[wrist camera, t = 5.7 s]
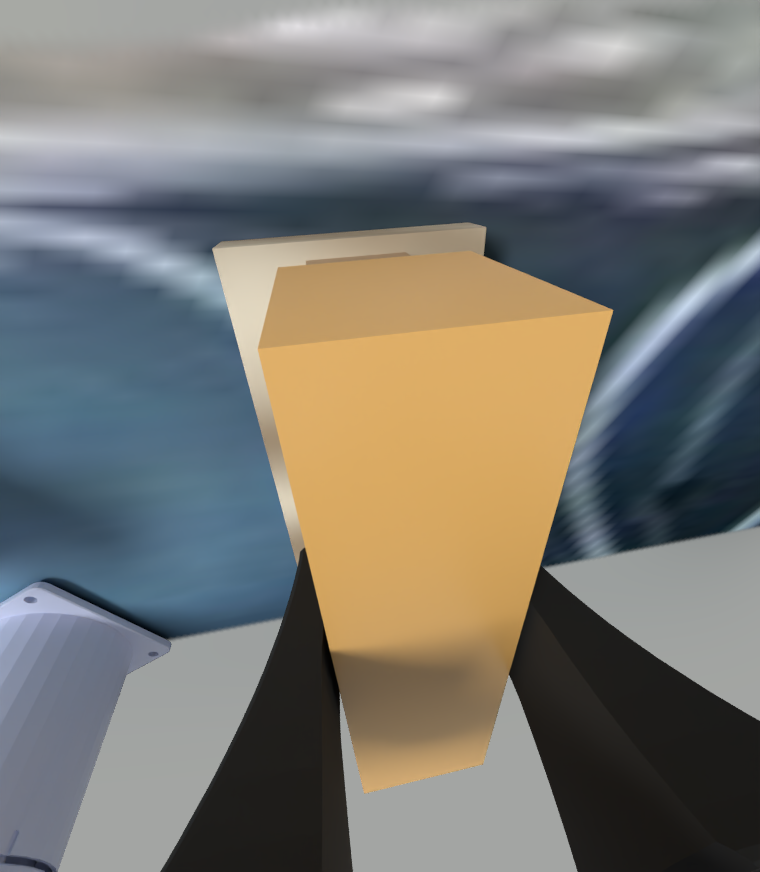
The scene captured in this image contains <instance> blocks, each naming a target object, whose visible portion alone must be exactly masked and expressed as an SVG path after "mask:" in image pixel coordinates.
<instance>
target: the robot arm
mask: <svg viewBox="0 0 760 872" xmlns="http://www.w3.org/2000/svg"><path fill="white" fill-rule="evenodd" d="M170 647H171V642H170V641H168V640H166V639H164V638H162V637H160V636H158V635H156V634H154V633H152V632H149V631H147V630H145V629H143V628H141V627H139V626H137V625H135V624H133V623H131V622H129V621H127V620H124V619H122V618H120V617H118V616H116V615H114V614H112V613H110V612H108V611H106V610H104V609H101V608H99V607H97V606H95V605H93V604H91V603H89V602H87V601H85V600H83V599H81V598H78V597H76V596H74V595H72V594H70V593H68V592H66V591H64V590H62V589H60V588H58V587H56V586H53V585H51V584H49V583H46V582H36V583H33V584H31V585H29V586H28V587H26V588H24V589H23V590H21V591H20V592H18V593H16V594H15V595H13V596H11V597H10V598H8V599H6V600H5V601H3V602H2V603H0V872H58V869H59V866H60V863H61V860H62V857H63V854H64V852H65V849H66V846H67V843H68V840H69V837H70V834H71V832H72V829H73V826H74V823H75V820H76V817H77V814H78V811H79V809H80V806H81V803H82V800H83V797H84V794H85V791H86V788H87V786H88V783H89V780H90V777H91V774H92V772H93V769H94V766H95V763H96V760H97V757H98V755H99V752H100V749H101V746H102V743H103V740H104V737H105V735H106V732H107V729H108V726H109V723H110V720H111V717H112V714H113V712H114V709H115V706H116V703H117V700H118V697H119V695H120V692H121V689H122V686H123V683H124V680H125V677H126V675H127V674H129V673H131V672H133V671H134V670H136V669H138V668H140V667H142V666H144V665H146V664H148V663H149V662H151V661H153V660H155V659H157V658H159V657H161V656H163V655H164V654H166V653H168V652H169V650H170ZM509 675H510V678H511V680H512V682H513V684H514V687H515V689H516V692H517V694H518V696H519V699H520V701H521V704H522V707H523V710H524V712H525V715H526V718H527V721H528V723H529V726H530V729H531V731H532V734H533V737H534V740H535V743H536V745H537V749H538V751H539V754H540V757H541V760H542V763H543V766H544V769H545V772H546V775H547V778H548V780H549V783H550V786H551V789H552V792H553V795H554V798H555V801H556V805H557V807H558V811H559V814H560V817H561V819H562V823H563V826H564V829H565V832H566V835H567V838H568V842H569V845H570V848H571V852H572V855H573V858H574V861H575V864H576V868H577V871H578V872H760V721H759V720H757V719H755V718H753V717H752V716H750V715H748V714H746V713H745V712H743V711H741V710H740V709H738V708H736V707H735V706H733V705H731V704H730V703H728V702H726V701H725V700H723V699H721V698H719V697H718V696H716V695H714V694H713V693H711V692H709V691H708V690H706V689H705V688H703V687H702V686H700V685H699V684H697V683H696V682H694V681H692V680H691V679H689V678H688V677H686V676H685V675H683V674H682V673H680V672H678V671H677V670H675V669H674V668H672V667H671V666H669V665H668V664H666V663H664V662H663V661H661V660H660V659H658V658H657V657H655V656H654V655H652V654H651V653H650V652H648V651H647V650H645V649H644V648H642V647H641V646H640V645H638V644H637V643H635V642H634V641H633V640H631V639H630V638H628V637H627V636H626V635H624V634H623V633H622V632H620V631H619V630H618V629H616V628H615V627H614V626H612V625H611V624H609V623H608V622H607V621H606V620H604V619H603V618H602V617H600V616H599V615H598V614H597V613H595V612H594V611H593V610H592V609H590V608H589V607H587V605H585V604H584V603H583V602H582V601H580V600H579V599H578V598H577V597H576V596H575V595H573V594H572V593H571V592H570V591H568V590H567V589H566V588H565V587H564V586H563V585H562V584H561V583H559V582H558V581H557V580H556V579H555V578H554V577H553V576H551V574H549V573H548V572H547V571H546V570H545V569H544V568H543V567H542V566H541V565H540V567H539V571H538V574H537V578H536V581H535V585H534V588H533V592H532V595H531V599H530V602H529V606H528V609H527V613H526V616H525V620H524V623H523V626H522V630H521V633H520V637H519V640H518V644H517V647H516V651H515V654H514V658H513V661H512V665H511V668H510V672H509ZM161 872H353V869H352V859H351V848H350V838H349V827H348V817H347V805H346V793H345V782H344V771H343V760H342V749H341V733H340V690H339V686H338V682H337V678H336V674H335V669H334V665H333V661H332V657H331V653H330V649H329V644H328V640H327V636H326V632H325V628H324V624H323V619H322V615H321V611H320V607H319V603H318V599H317V594H316V590H315V586H314V582H313V578H312V574H311V569H310V565H309V561H308V557H307V553H306V549H305V548H303V549H302V550H301V551H300V556H299V562H298V567H297V572H296V576H295V580H294V584H293V587H292V591H291V595H290V598H289V601H288V605H287V608H286V611H285V614H284V617H283V620H282V623H281V626H280V629H279V632H278V635H277V638H276V640H275V643H274V646H273V648H272V651H271V653H270V656H269V659H268V661H267V664H266V667H265V669H264V672H263V674H262V676H261V679H260V681H259V684H258V686H257V688H256V691H255V693H254V695H253V698H252V700H251V702H250V704H249V706H248V708H247V711H246V713H245V715H244V717H243V719H242V722H241V724H240V726H239V728H238V730H237V732H236V734H235V736H234V738H233V740H232V742H231V744H230V746H229V748H228V750H227V752H226V754H225V756H224V758H223V760H222V762H221V764H220V766H219V768H218V770H217V772H216V774H215V776H214V778H213V779H212V781H211V783H210V785H209V787H208V789H207V791H206V793H205V794H204V796H203V798H202V800H201V801H200V803H199V805H198V807H197V809H196V810H195V812H194V814H193V816H192V818H191V819H190V821H189V823H188V825H187V827H186V828H185V830H184V832H183V834H182V836H181V837H180V839H179V841H178V843H177V845H176V846H175V848H174V850H173V851H172V853H171V855H170V857H169V859H168V860H167V862H166V864H165V865H164V867H163V868H162V870H161Z"/></svg>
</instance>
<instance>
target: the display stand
mask: <svg viewBox="0 0 760 872" xmlns="http://www.w3.org/2000/svg"><path fill="white" fill-rule="evenodd" d="M485 236H486V227H484V226H480V225H476V224H472V223H457V224H444V225H431V226H418V227H405V228H392V229H379V230H366V231H353V232H340V233H327V234H315V235H302V236H289V237H276V238H263V239H250V240H237V241H224V242H220V243H219V244H218V245H217V246H215V247H214V248H213V253H214V257H215V261H216V264H217V268H218V272H219V276H220V279H221V283H222V287H223V290H224V294H225V298H226V302H227V305H228V309H229V313H230V317H231V320H232V324H233V328H234V331H235V335H236V339H237V343H238V346H239V350H240V354H241V358H242V361H243V365H244V369H245V372H246V376H247V380H248V384H249V387H250V391H251V395H252V399H253V402H254V406H255V410H256V413H257V417H258V421H259V425H260V428H261V432H262V436H263V440H264V443H265V447H266V451H267V454H268V458H269V462H270V466H271V469H272V473H273V477H274V481H275V484H276V488H277V492H278V495H279V499H280V503H281V507H282V510H283V514H284V518H285V522H286V525H287V529H288V533H289V536H290V540H291V544H292V548H293V551H294V555H295V559H296V563H297V566H298V562H299V556H300V551H301V550H302V549H303V548H305V545H304V540H303V536H302V532H301V528H300V524H299V520H298V515H297V511H296V507H295V503H294V499H293V495H292V490H291V486H290V482H289V478H288V474H287V470H286V465H285V461H284V457H283V453H282V449H281V445H280V440H279V436H278V432H277V428H276V424H275V420H274V415H273V411H272V407H271V403H270V399H269V395H268V391H267V386H266V382H265V378H264V374H263V370H262V366H261V361H260V357H259V353H258V345H259V341H260V337H261V333H262V329H263V325H264V321H265V317H266V313H267V309H268V305H269V301H270V297H271V293H272V289H273V285H274V281H275V277H276V273H277V269H278V267H287V266H299V265H311V264H322V263H334V262H345V261H357V260H369V259H380V258H392V257H403V256H415V255H427V254H438V253H450V252H461V251H472V252H475V253H477V254H480V255H482V256H484V247H485Z"/></svg>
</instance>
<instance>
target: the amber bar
mask: <svg viewBox="0 0 760 872" xmlns="http://www.w3.org/2000/svg"><path fill="white" fill-rule="evenodd" d="M612 313H613V310H612V309H609V308H607V307H605V306H602V305H600V304H597V303H595V302H593V301H590V300H588V299H585V298H583V297H581V296H578V295H576V294H573V293H571V292H569V291H566V290H564V289H561V288H559V287H557V286H554V285H552V284H549V283H547V282H545V281H542V280H540V279H537V278H535V277H532V276H530V275H528V274H525V273H523V272H520V271H518V270H516V269H513V268H511V267H508V266H506V265H504V264H501V263H499V262H496V261H494V260H492V259H489V258H487V257H484V256H482V255H480V254H477V253H475V252H472V251H461V252H450V253H438V254H427V255H415V256H403V257H392V258H380V259H369V260H357V261H345V262H334V263H322V264H311V265H299V266H287V267H278V269H277V273H276V277H275V281H274V285H273V289H272V293H271V297H270V301H269V305H268V309H267V313H266V317H265V321H264V325H263V329H262V333H261V337H260V341H259V345H258V353H259V357H260V361H261V366H262V370H263V374H264V378H265V382H266V386H267V391H268V395H269V399H270V403H271V407H272V411H273V415H274V420H275V424H276V428H277V432H278V436H279V440H280V445H281V449H282V453H283V457H284V461H285V465H286V470H287V474H288V478H289V482H290V486H291V490H292V495H293V499H294V503H295V507H296V511H297V515H298V520H299V524H300V528H301V532H302V536H303V540H304V545H305V549H306V553H307V557H308V561H309V565H310V569H311V574H312V578H313V582H314V586H315V590H316V594H317V599H318V603H319V607H320V611H321V615H322V619H323V624H324V628H325V632H326V636H327V640H328V644H329V649H330V653H331V657H332V661H333V665H334V669H335V674H336V678H337V682H338V686H339V690H340V694H341V699H342V703H343V707H344V711H345V715H346V719H347V724H348V728H349V731H350V736H351V740H352V744H353V748H354V753H355V757H356V761H357V765H358V769H359V773H360V777H361V782H362V786H363V790H364V793H369V792H373V791H377V790H381V789H385V788H389V787H393V786H397V785H401V784H405V783H409V782H413V781H418V780H422V779H425V778H430V777H434V776H438V775H442V774H446V773H450V772H454V771H458V770H462V769H466V768H470V767H474V766H478V765H483V762H484V759H485V755H486V751H487V748H488V745H489V742H490V738H491V735H492V731H493V728H494V724H495V721H496V717H497V714H498V710H499V706H500V703H501V700H502V696H503V693H504V689H505V686H506V682H507V678H508V675H509V672H510V668H511V665H512V661H513V658H514V654H515V651H516V647H517V644H518V640H519V637H520V633H521V630H522V626H523V623H524V620H525V616H526V613H527V609H528V606H529V602H530V599H531V595H532V592H533V588H534V585H535V581H536V578H537V574H538V571H539V567H540V564H541V560H542V557H543V553H544V550H545V546H546V543H547V539H548V536H549V532H550V529H551V525H552V522H553V518H554V515H555V511H556V508H557V505H558V501H559V498H560V494H561V491H562V487H563V484H564V480H565V477H566V473H567V470H568V466H569V463H570V459H571V456H572V452H573V449H574V445H575V442H576V438H577V435H578V431H579V428H580V424H581V421H582V417H583V414H584V410H585V407H586V403H587V400H588V396H589V393H590V390H591V386H592V383H593V379H594V376H595V372H596V369H597V365H598V362H599V358H600V355H601V351H602V348H603V344H604V341H605V337H606V334H607V330H608V327H609V323H610V320H611V316H612Z"/></svg>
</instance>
